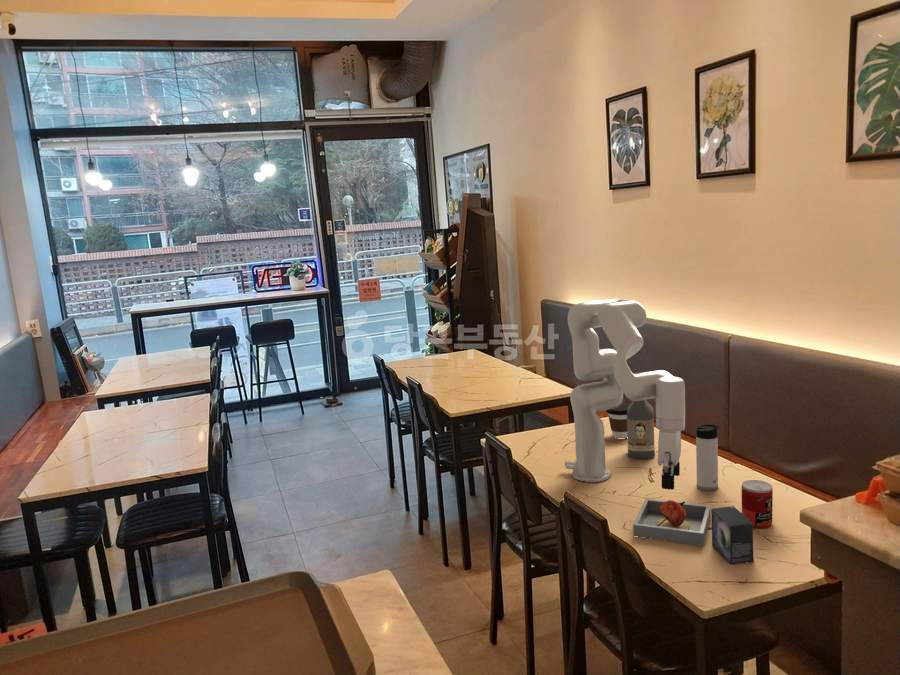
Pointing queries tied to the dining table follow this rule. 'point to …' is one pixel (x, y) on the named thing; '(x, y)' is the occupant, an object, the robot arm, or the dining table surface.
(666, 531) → the walled pen
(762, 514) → the canned food
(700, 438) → the travel mug
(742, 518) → the small box
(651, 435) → the liquor
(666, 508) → the pomegranate
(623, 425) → the coffee cup
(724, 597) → the dining table surface
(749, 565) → the dining table surface
